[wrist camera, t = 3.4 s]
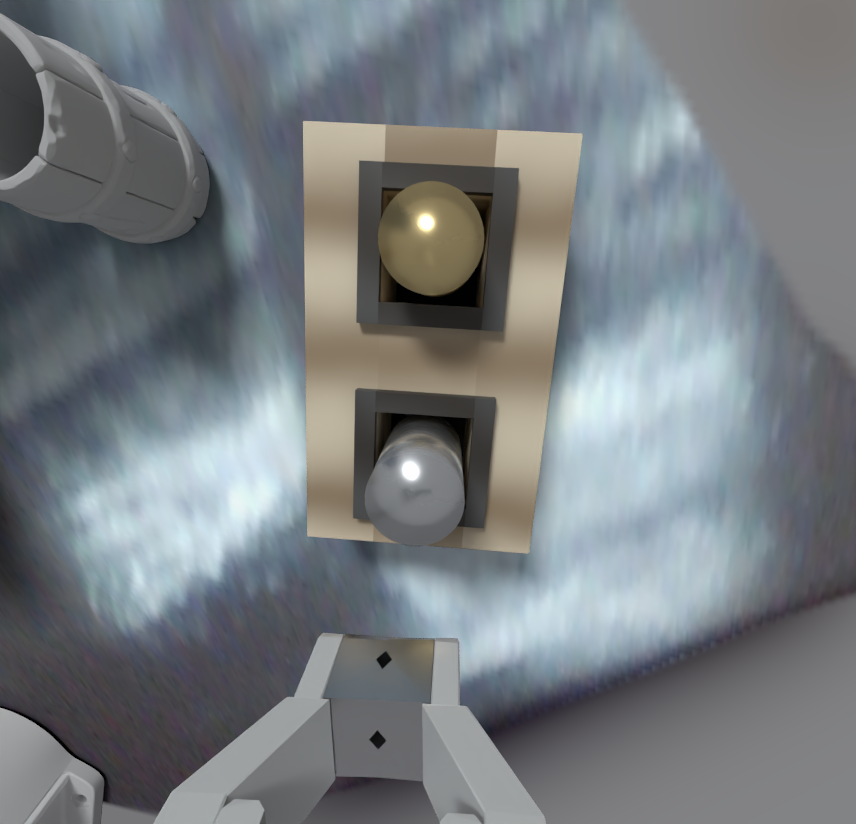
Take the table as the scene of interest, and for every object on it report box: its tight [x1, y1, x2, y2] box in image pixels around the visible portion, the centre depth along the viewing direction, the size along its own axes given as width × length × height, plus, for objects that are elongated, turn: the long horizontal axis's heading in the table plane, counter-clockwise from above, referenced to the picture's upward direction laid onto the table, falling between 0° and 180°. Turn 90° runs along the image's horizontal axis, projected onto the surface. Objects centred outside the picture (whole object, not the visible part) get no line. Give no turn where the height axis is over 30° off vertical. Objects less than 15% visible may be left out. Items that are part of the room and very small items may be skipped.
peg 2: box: [365, 414, 465, 546], centre depth 21 cm, size 4×4×6 cm
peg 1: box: [378, 181, 484, 297], centre depth 20 cm, size 4×4×6 cm
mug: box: [0, 13, 210, 244], centre depth 20 cm, size 8×12×12 cm, turn 82°
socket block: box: [303, 121, 583, 554], centre depth 24 cm, size 20×12×7 cm, turn 177°
